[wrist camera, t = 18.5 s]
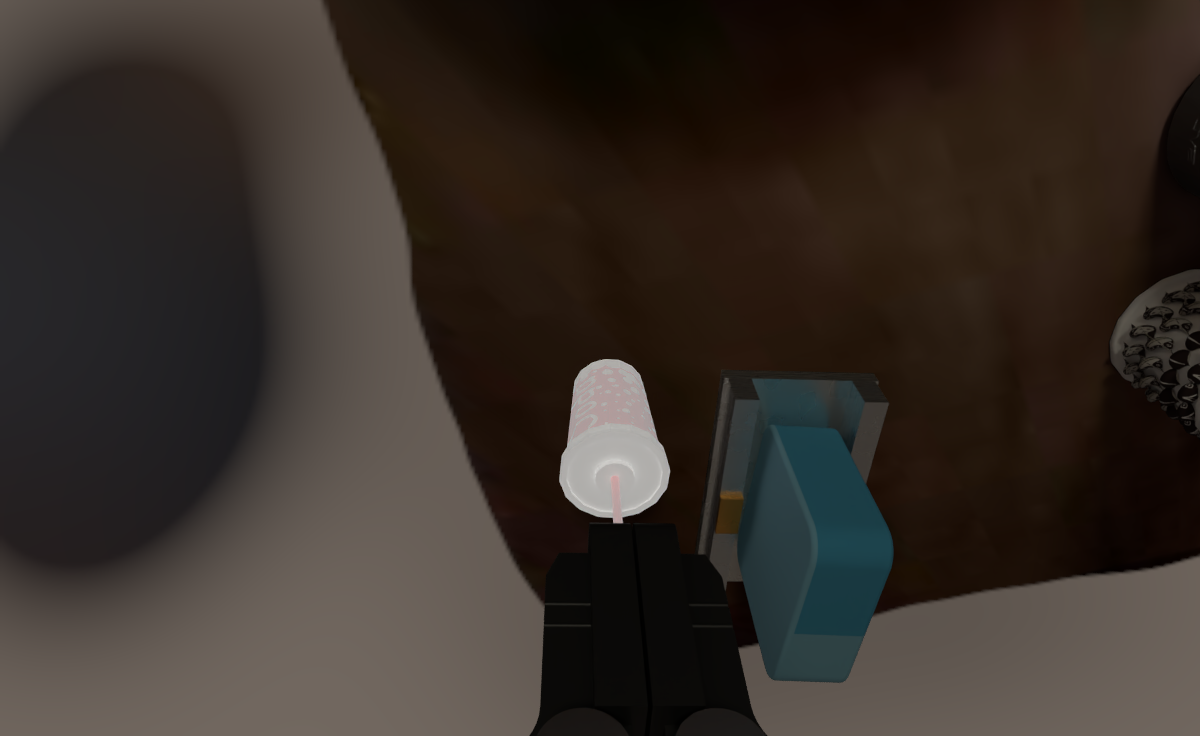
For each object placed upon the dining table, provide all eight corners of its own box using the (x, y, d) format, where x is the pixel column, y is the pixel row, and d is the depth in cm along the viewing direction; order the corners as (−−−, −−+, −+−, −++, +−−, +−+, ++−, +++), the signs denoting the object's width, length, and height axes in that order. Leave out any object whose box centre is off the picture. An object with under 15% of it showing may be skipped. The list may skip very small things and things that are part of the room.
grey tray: (873, 373, 49) (895, 406, 46) (820, 572, 59) (835, 612, 55) (721, 369, 49) (732, 403, 46) (692, 571, 58) (699, 611, 55)
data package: (793, 551, 56) (843, 694, 46) (733, 549, 56) (770, 692, 45) (833, 418, 50) (901, 548, 40) (766, 414, 50) (817, 544, 39)
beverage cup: (629, 333, 47) (648, 474, 35) (670, 404, 50) (700, 558, 38) (544, 373, 49) (534, 522, 37) (588, 440, 52) (593, 600, 40)
